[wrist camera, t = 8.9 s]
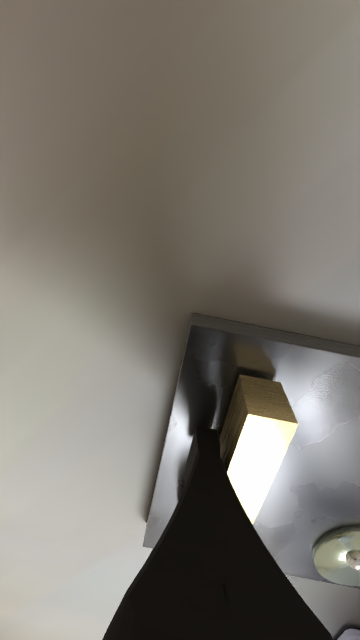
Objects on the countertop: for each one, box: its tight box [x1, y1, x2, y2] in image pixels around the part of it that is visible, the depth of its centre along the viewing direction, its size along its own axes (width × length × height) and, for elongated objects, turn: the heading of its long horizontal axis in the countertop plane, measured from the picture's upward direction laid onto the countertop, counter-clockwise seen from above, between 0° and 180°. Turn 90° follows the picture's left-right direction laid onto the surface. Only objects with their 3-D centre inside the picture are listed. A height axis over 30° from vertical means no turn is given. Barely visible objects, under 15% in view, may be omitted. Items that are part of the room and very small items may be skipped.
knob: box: [177, 374, 298, 524], centre depth 12 cm, size 10×4×2 cm, turn 170°
